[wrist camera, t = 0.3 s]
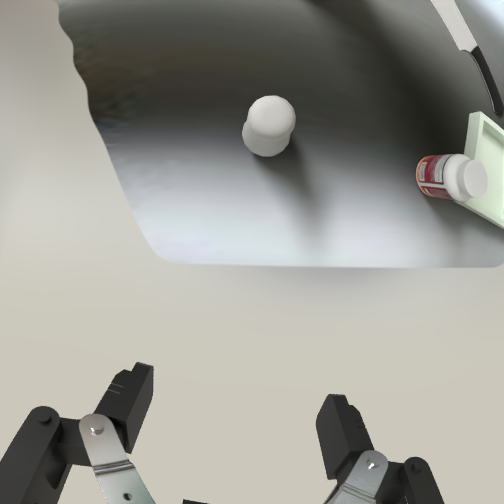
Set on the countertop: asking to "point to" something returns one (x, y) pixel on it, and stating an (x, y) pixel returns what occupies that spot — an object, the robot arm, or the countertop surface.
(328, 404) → the robot arm
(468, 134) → the collection tray
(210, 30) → the countertop surface
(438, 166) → the pill bottle
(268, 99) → the salt shaker
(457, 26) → the kitchen cleaver
